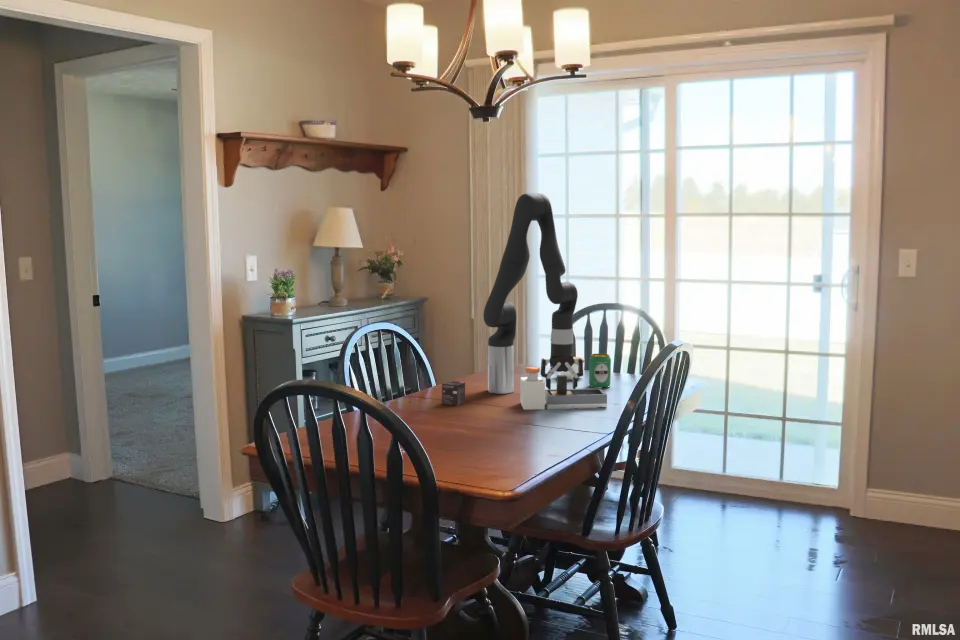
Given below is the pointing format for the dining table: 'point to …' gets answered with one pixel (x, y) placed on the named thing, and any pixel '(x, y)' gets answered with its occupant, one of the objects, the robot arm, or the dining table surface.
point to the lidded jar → (574, 367)
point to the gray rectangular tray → (576, 399)
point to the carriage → (561, 386)
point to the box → (453, 393)
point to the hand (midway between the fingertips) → (561, 388)
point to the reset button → (532, 373)
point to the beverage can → (599, 370)
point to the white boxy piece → (532, 393)
